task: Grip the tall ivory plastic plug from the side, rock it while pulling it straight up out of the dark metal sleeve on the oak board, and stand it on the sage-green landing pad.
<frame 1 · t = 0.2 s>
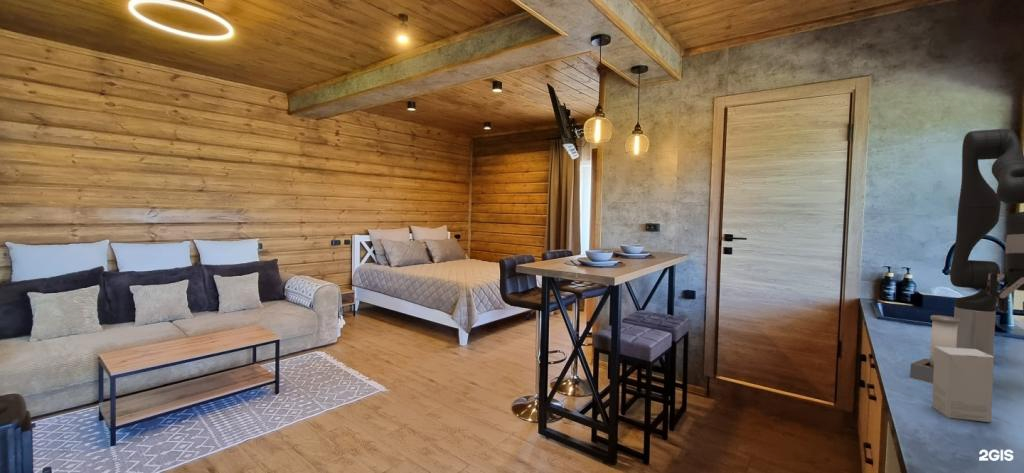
skincare box: (960, 415, 101), on the countertop
sleeve board: (949, 380, 124), on the countertop
plug: (941, 380, 121), point 1 cm above the countertop, touching sleeve board
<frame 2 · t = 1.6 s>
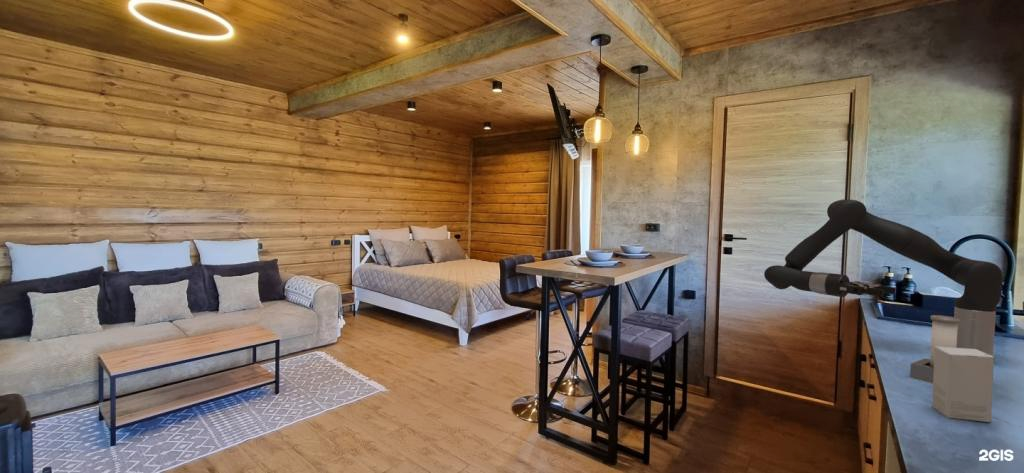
hand: (889, 292, 130), 24 cm above the countertop, tool horizontal, fingers open, 8 cm apart
nothing on the countertop moved.
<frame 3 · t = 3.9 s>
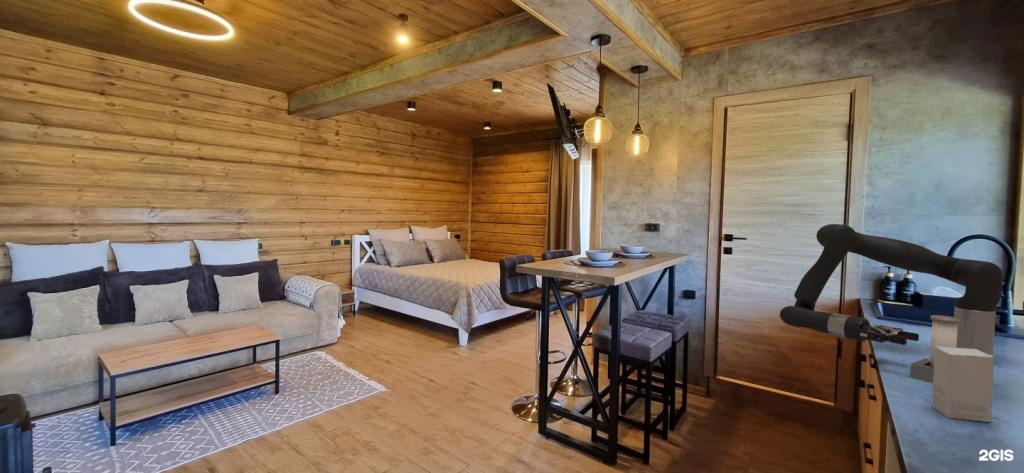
hand: (912, 339, 126), 11 cm above the countertop, tool horizontal, fingers open, 8 cm apart
nothing on the countertop moved.
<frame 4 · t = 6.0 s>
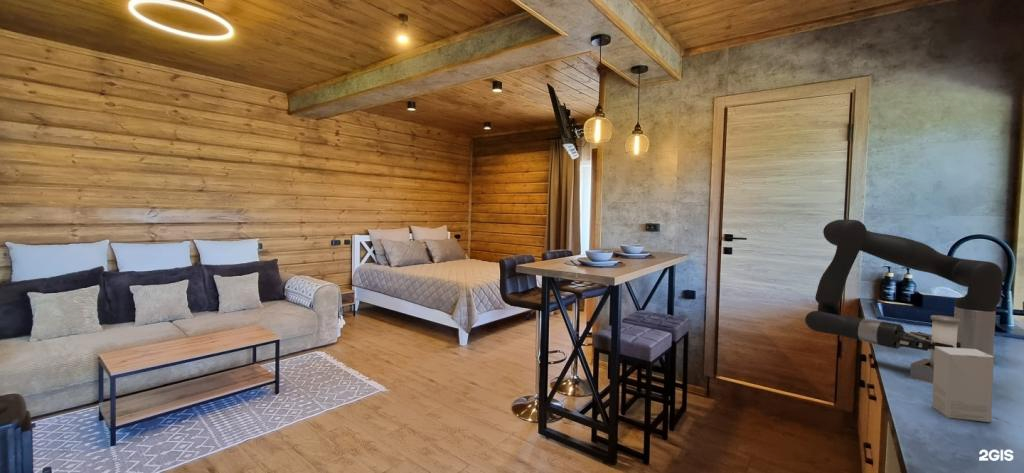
hand: (956, 348, 118), 11 cm above the countertop, tool horizontal, fingers closed on plug, 5 cm apart
plug: (941, 380, 121), point 1 cm above the countertop, touching gripper, sleeve board
everything else where it was.
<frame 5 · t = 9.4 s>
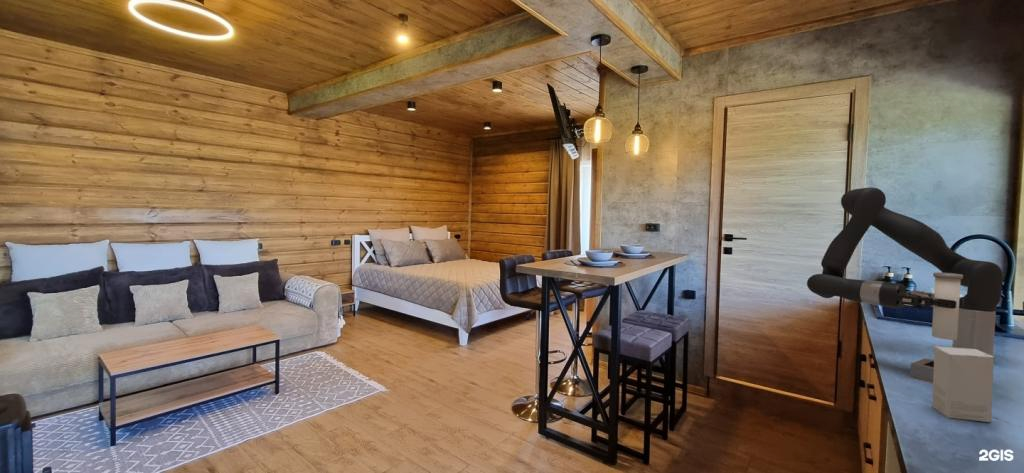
hand: (959, 303, 117), 23 cm above the countertop, tool horizontal, fingers closed on plug, 5 cm apart
plug: (944, 337, 120), point 13 cm above the countertop, touching gripper
everything else where it was.
when the fingers open (12 cm above the countertop, at t = 13.1 s): plug stays where it is, resting on sleeve board.
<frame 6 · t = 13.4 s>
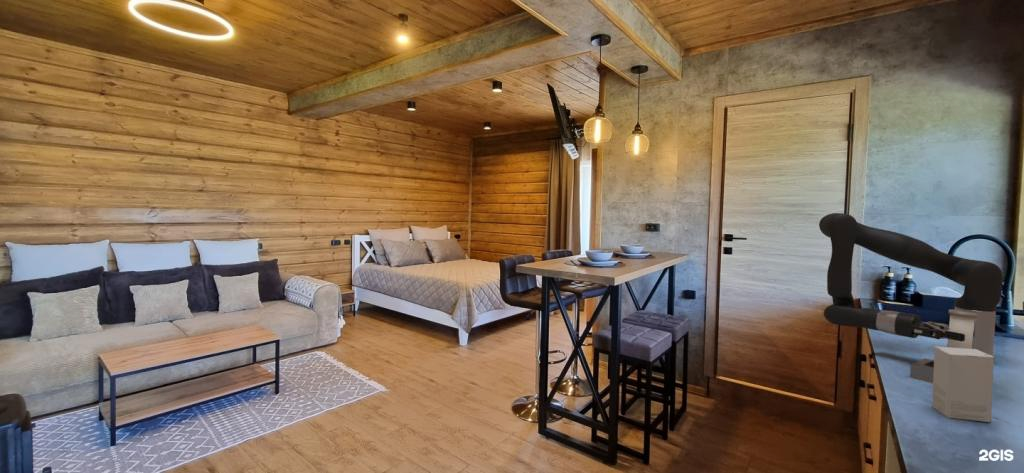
hand: (969, 336, 124), 13 cm above the countertop, tool horizontal, fingers open, 7 cm apart
plug: (956, 371, 127), point 1 cm above the countertop, touching sleeve board
everything else where it was.
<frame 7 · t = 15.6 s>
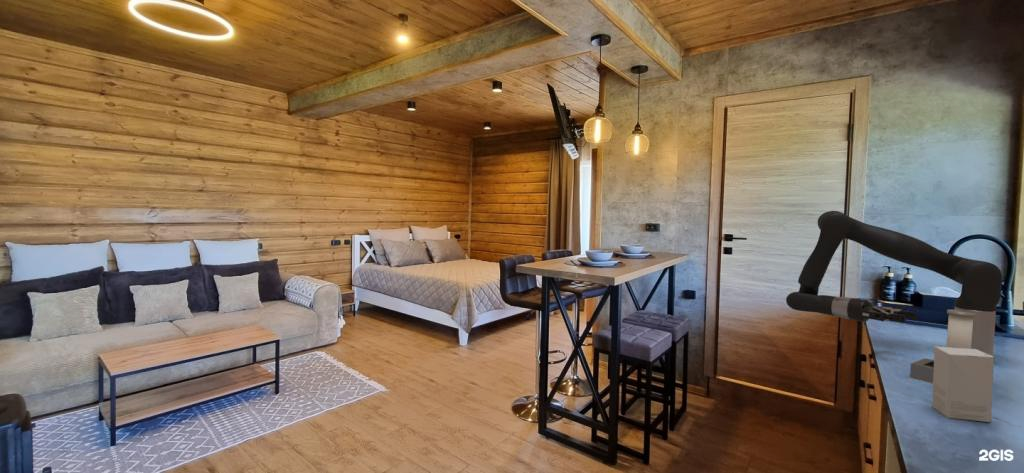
hand: (910, 317, 136), 15 cm above the countertop, tool horizontal, fingers open, 8 cm apart
nothing on the countertop moved.
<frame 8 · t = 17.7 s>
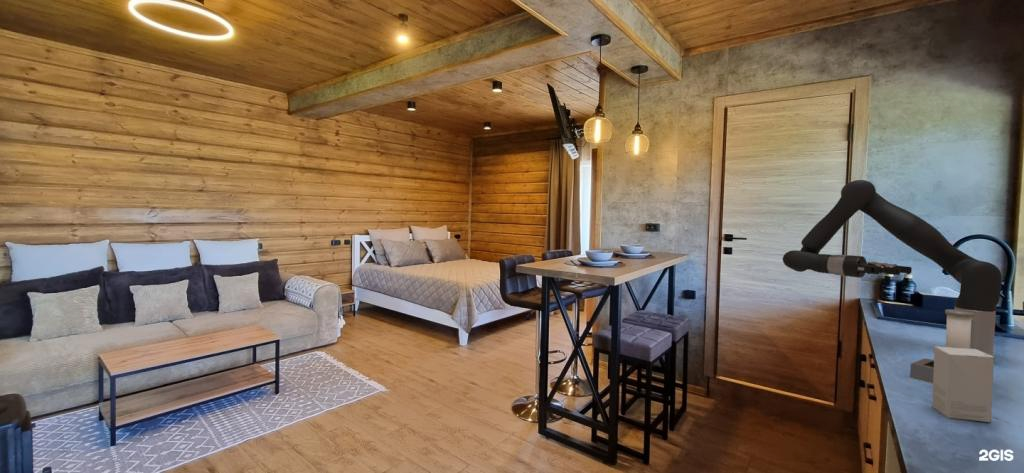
hand: (905, 270, 137), 30 cm above the countertop, tool horizontal, fingers open, 8 cm apart
nothing on the countertop moved.
at the end: plug inside the target area (0.1 cm from its centre), point 1.4 cm above the countertop; plug tilted 1°; the gripper is holding nothing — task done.
